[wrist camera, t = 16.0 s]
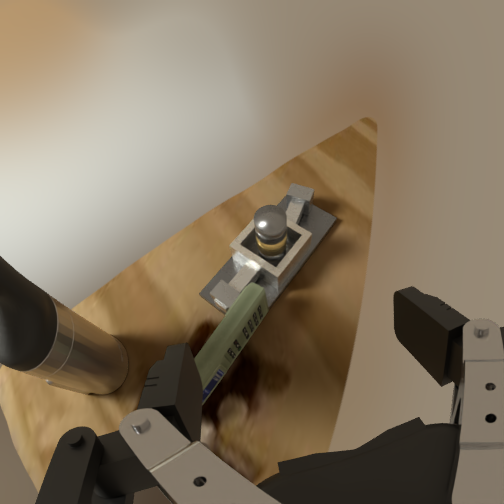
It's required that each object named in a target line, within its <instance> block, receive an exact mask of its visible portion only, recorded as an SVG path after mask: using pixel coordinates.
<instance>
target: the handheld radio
mask: <svg viewBox="0 0 504 504" xmlns="http://www.w3.org/2000/svg"><path fill="white" fill-rule="evenodd" d="M268 311H269V310H268V303H267V298H266V293H265V290H264V288H263V287H261V286H259V285H257V284H256V283H254V282H252V283H250V284H249V285H248V286H246V287H245V288H244V289H243V290H242V292H241V293H240V294H239V296H238V297H237V299H236V300H235V301H234V303H233V304H232V305H231V307H230V308H229V310H228V311H227V312H226V314H225V315H226V316H225V317H224V319H223V320H222V322H221V323H220V324H219V326H218V327H217V328H216V330H215V331H214V332H213V334H212V335H211V337H210V338H209V339H208V341H207V342H206V343H205V345H204V346H203V347H202V349H201V350H200V352H199V353H198V354H197V356H196V357H195V358H194V360H195V363H196V366H197V369H198V371H199V374H200V377H201V381H202V386H203V398H202V405H203V404H204V403H205V401H206V400H207V399H208V397H209V396H210V395H211V393H212V392H213V390H214V389H215V388H216V386H217V385H218V384H219V382H220V381H221V379H222V378H223V377H224V375H225V374H226V373H227V370H228V369H229V368H230V366H231V365H232V363H233V362H234V360H235V359H236V358H237V356H238V355H239V353H240V352H241V350H242V349H243V348H244V346H245V345H246V343H247V342H248V340H249V339H250V337H251V336H252V335H253V333H254V332H255V330H256V329H257V327H258V326H259V324H260V323H261V321H262V320H263V318H264V317H265V315H266V314H267V312H268Z"/></svg>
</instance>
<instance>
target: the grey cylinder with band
mask: <svg viewBox="0 0 504 504" xmlns="http://www.w3.org/2000/svg"><path fill="white" fill-rule="evenodd" d="M254 225H255V232H256V240H257V248H258V255H259V257H260V258H262V259H264V260H265V261H267V262H268V263H270V264H271V265H273V266H274V267H275V266H278V264H279V263H280V262H281V261H282V259H283V258H284V257H285V256H286V238H287V216H286V213H285V211H284V210H283V209H282V208H280V207H278V206H275V205H266V206H263V207H261V208H259V209H258V210H257V211H256V213H255V215H254Z"/></svg>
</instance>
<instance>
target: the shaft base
mask: <svg viewBox="0 0 504 504" xmlns="http://www.w3.org/2000/svg"><path fill="white" fill-rule="evenodd" d="M313 197H314V189H311V188H308V187H304V186H301V185H297V184H293V183H292V184H291V186H290V188H289V190H288V192H287V195H286V196H285V197H284V198H283V200H282V201H281V202H280V203H279V204H278V205H277V206H278V207H280V208H282V209H283V210H284V211H285V213H286V216H287V238H286V256H285V257H284V258H283V259H282V261H281V262H280V263H279V264H278V266H275V267H274V266H273V265H271V264H270V263H268V262H267V261H265V260H264V259H262V258H260V257H259V255H258V248H257V240H256V232H255V225H254V219H253V220H252V221H251V222H250V223H249V224H248V226H247V227H246V228H245V229H244V230H243V231H242V232H241V233H240V234H239V235H238V237H237V238H236V239H235V240H234V241H233V242H232V243H231V244H230V245H229V247H230V250H231V254H232V257H231V258H230V259H229V260H228V261H227V263H226V264H225V265H224V266H223V267H222V268H221V269H220V270H219V272H218V273H217V274H216V275H215V276H214V277H213V278H212V280H211V281H210V282H209V283H208V284H207V285H206V286H205V288H204V289H203V290H202V291H201V292H200V293H199V295H200V296H201V297H202V298H203V299H205V300H206V301H207V302H209V303H210V304H211V305H212V306H214V307H215V308H216V309H218V310H219V311H220V312H222V313H223V314H224V315H225V314H226V312H227V311H228V310H229V308H230V307H231V305H232V304H233V303H234V301H235V300H236V299H237V297H238V296H239V294H240V293H241V292H242V290H243V289H244V288H245V287H246V286H248V285H249V284H250V283H252V282H254V283H256V284H257V285H259V286H261V287H263V288H264V290H265V293H266V298H267V303H268V310H269V309H270V308H271V307H272V305H273V304H274V303H275V301H276V300H277V299H278V298H279V296H280V295H281V294H282V293H283V291H284V290H285V289H286V287H287V286H288V285H289V284H290V282H291V281H292V280H293V278H294V277H295V276H296V274H297V273H298V272H299V270H300V269H301V268H302V267H303V265H304V264H305V263H306V261H307V260H308V259H309V257H310V256H311V255H312V253H313V252H314V251H315V249H316V248H317V247H318V245H319V244H320V243H321V241H322V240H323V239H324V237H325V236H326V235H327V233H328V232H329V230H330V229H331V228H332V226H333V225H334V224H335V222H336V219H337V218H336V217H334V216H332V215H331V214H329V213H327V212H325V211H323V210H322V209H320V208H318V207H316V206H314V205H313Z"/></svg>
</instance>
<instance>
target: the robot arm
mask: <svg viewBox="0 0 504 504" xmlns="http://www.w3.org/2000/svg"><path fill="white" fill-rule="evenodd" d="M394 330H395V334H396V337H397V339H398V340H399V342H400V343H401V344H402V345H403V346H404V347H405V348H406V349H407V350H408V351H409V352H410V353H411V354H412V355H413V356H414V357H415V359H416V360H417V361H418V362H419V363H420V364H421V365H422V366H423V367H424V368H425V369H426V370H427V372H428V373H429V374H430V375H431V376H432V377H433V378H434V379H435V380H436V381H437V382H438V384H439V385H440V386H441V387H442V386H444V385H446V384H448V383H450V382H452V381H453V382H454V383H455V385H454V390H453V399H452V408H451V416H450V423H449V424H448V423H439V424H430V425H425V424H424V423H423V422H422V421H421V419H420V418H419V417H418V418H415V419H413V420H411V421H408V422H406V423H404V424H401V425H399V426H396V427H394V428H392V429H389V430H387V431H385V432H383V433H382V434H380V435H379V436H377V437H376V438H374V439H372V440H371V441H369V442H367V443H366V444H364V445H362V446H361V447H359V448H357V449H354V450H346V451H338V452H327V453H315V454H311V455H307V456H304V457H300V458H295V459H291V460H287V461H282V462H278V467H279V472H280V473H277V474H275V475H273V476H271V477H269V478H267V479H265V480H264V481H262V482H261V483H259V484H258V485H257V486H255V485H254V484H252V483H251V482H249V481H248V480H247V479H245V478H244V477H243V476H241V475H240V474H239V473H237V472H236V471H235V470H233V469H232V468H231V467H229V466H228V465H227V464H226V463H224V462H223V461H222V460H221V459H219V458H218V457H217V456H216V455H214V454H213V453H212V452H211V451H210V450H208V449H207V448H206V447H205V446H203V445H202V444H201V443H200V437H201V417H202V398H203V386H202V381H201V377H200V374H199V371H198V369H197V366H196V363H195V360H194V358H193V355H192V352H191V349H190V347H189V345H188V343H182V344H177V345H171V346H168V347H167V349H166V353H165V357H164V360H160V361H157V362H156V363H155V364H154V365H153V366H152V367H151V368H150V369H149V373H148V376H147V380H146V382H145V385H144V386H145V387H144V389H143V392H142V395H141V398H140V402H139V405H138V408H137V410H136V411H133V412H131V413H130V414H128V415H127V416H126V417H125V418H124V419H123V420H122V421H121V423H120V426H119V430H118V431H115V432H112V433H109V434H105V435H102V436H98V437H97V435H96V434H95V432H94V431H93V430H92V429H91V428H88V427H76V428H73V429H71V430H69V431H68V432H66V433H65V434H64V435H63V436H62V437H61V438H60V440H59V442H58V444H57V447H56V449H55V452H54V454H53V457H52V459H51V462H50V464H49V467H48V470H47V472H46V475H45V478H44V480H43V483H42V486H41V489H40V492H39V494H38V497H37V500H36V503H35V504H133V499H134V492H137V491H141V490H144V489H148V488H151V487H154V486H158V488H159V489H160V490H161V491H162V492H163V493H164V495H165V496H166V497H167V498H168V499H169V501H170V502H171V503H172V504H504V327H499V326H498V325H497V324H496V323H495V322H493V321H491V320H488V319H474V320H471V321H470V320H469V319H467V318H466V317H464V316H463V315H462V314H460V313H459V312H458V311H456V310H455V309H453V308H451V307H450V306H449V305H447V304H445V302H443V301H441V300H440V299H439V298H437V297H433V296H431V295H427V294H423V293H422V292H420V291H419V290H418V289H416V288H415V287H412V286H411V287H408V288H405V289H402V290H399V291H396V292H395V293H394ZM0 363H1V364H3V365H5V366H7V367H9V368H12V369H15V370H18V371H21V372H24V373H26V374H29V375H32V376H36V377H39V378H42V379H45V380H46V382H47V383H48V384H49V385H52V386H55V387H59V388H63V389H66V390H70V391H74V392H78V393H82V394H86V395H87V394H89V393H95V394H109V393H111V392H113V391H115V390H116V389H118V388H119V387H120V386H121V384H122V383H123V382H124V380H125V378H126V376H127V372H128V356H127V353H126V350H125V348H124V346H123V345H122V344H121V342H120V341H119V340H117V339H116V338H115V337H113V336H111V335H110V334H108V333H106V332H105V331H103V330H102V329H100V328H98V327H97V326H95V325H94V324H92V323H91V322H89V321H87V320H86V319H84V318H83V317H81V316H80V315H78V314H77V313H75V312H74V311H72V310H71V309H69V308H68V307H66V306H65V305H63V304H62V303H60V302H59V301H57V300H56V299H55V298H53V297H52V296H50V295H49V294H47V293H46V292H45V291H43V290H42V289H41V288H39V287H38V286H36V285H35V284H33V283H32V282H31V281H29V280H28V279H26V278H25V277H24V276H23V275H21V274H20V273H19V272H18V271H16V270H15V269H14V268H13V267H12V266H11V265H10V264H8V263H7V262H6V261H5V260H4V259H3V258H2V257H1V256H0Z"/></svg>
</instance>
